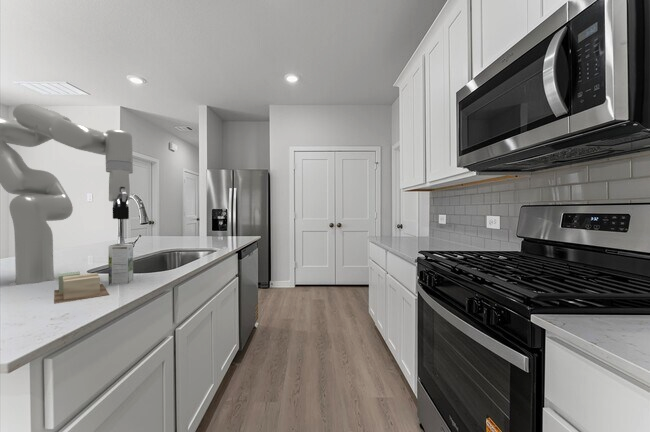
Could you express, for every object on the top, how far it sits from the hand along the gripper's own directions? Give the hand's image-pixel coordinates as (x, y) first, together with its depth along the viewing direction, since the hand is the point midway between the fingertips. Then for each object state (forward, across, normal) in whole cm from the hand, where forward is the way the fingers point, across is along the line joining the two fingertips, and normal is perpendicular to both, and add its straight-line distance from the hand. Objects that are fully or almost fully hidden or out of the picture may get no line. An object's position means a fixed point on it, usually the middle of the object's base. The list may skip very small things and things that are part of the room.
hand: (120, 218), depth 102 cm
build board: (+23, +7, -11) cm, 26 cm away
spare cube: (+22, +1, -14) cm, 25 cm away
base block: (+22, +9, -11) cm, 26 cm away
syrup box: (+23, 0, 0) cm, 23 cm away
